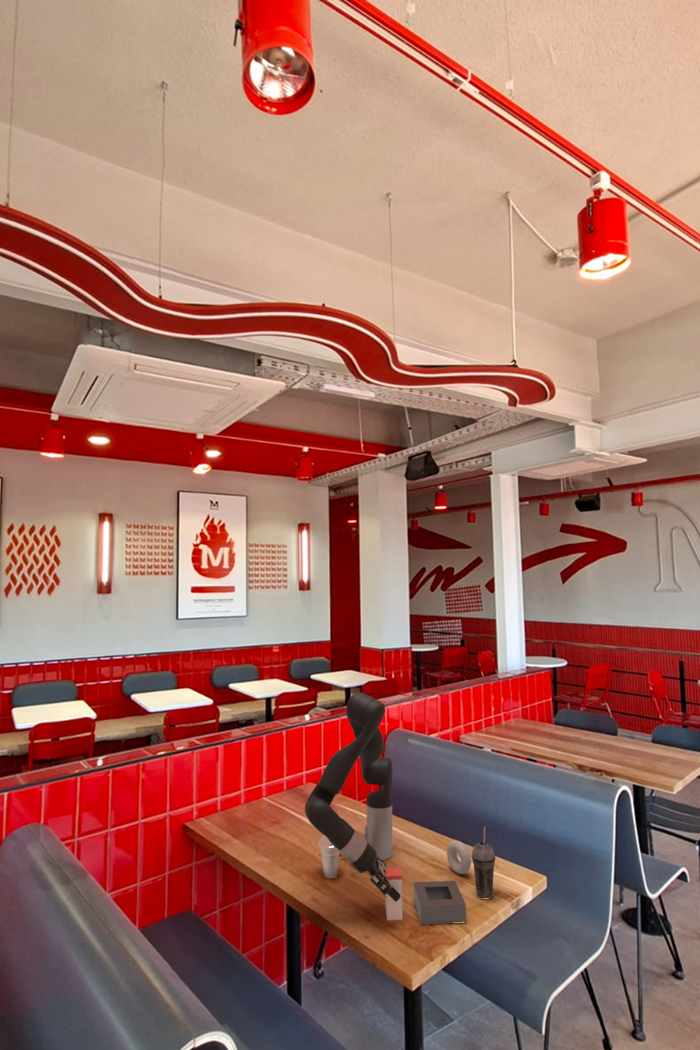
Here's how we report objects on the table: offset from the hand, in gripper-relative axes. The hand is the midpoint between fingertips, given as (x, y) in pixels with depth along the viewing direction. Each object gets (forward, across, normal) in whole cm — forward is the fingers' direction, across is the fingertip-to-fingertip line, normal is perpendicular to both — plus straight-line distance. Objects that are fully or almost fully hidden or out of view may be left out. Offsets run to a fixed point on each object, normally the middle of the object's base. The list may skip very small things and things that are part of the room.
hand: (396, 890), depth 167 cm
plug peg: (+4, 0, +6) cm, 7 cm away
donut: (+22, +23, -12) cm, 34 cm away
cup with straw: (-9, +24, +18) cm, 32 cm away
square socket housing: (+14, +2, -4) cm, 14 cm away
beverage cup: (+25, +9, -15) cm, 30 cm away
